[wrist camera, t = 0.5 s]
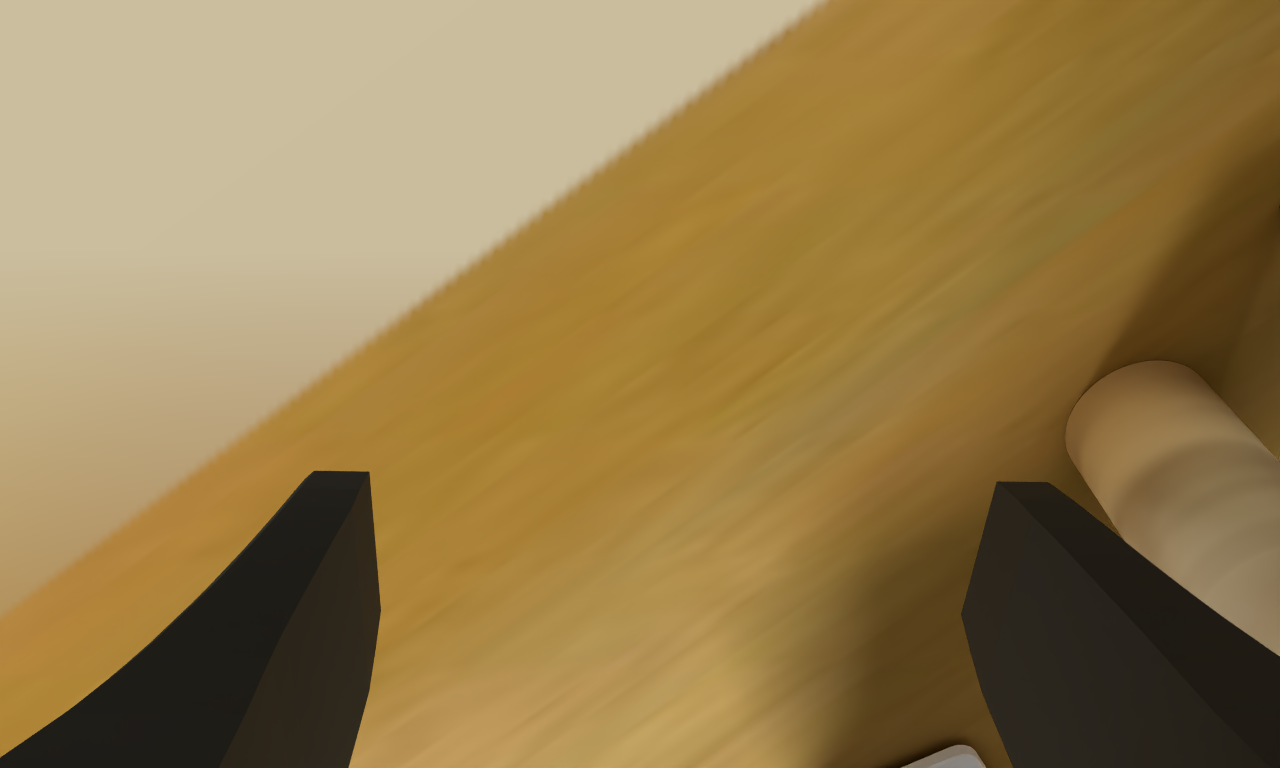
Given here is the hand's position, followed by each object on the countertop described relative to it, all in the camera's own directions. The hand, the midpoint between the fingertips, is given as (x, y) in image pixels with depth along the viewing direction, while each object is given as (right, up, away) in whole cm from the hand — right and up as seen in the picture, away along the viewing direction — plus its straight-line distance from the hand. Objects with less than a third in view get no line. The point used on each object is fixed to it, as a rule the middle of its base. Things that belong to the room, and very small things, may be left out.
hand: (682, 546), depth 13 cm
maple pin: (+10, +1, +12) cm, 16 cm away
